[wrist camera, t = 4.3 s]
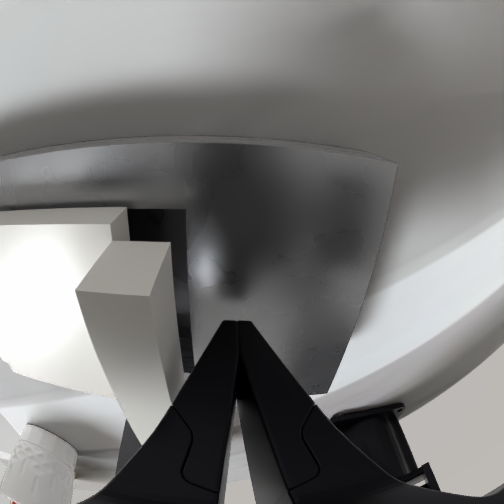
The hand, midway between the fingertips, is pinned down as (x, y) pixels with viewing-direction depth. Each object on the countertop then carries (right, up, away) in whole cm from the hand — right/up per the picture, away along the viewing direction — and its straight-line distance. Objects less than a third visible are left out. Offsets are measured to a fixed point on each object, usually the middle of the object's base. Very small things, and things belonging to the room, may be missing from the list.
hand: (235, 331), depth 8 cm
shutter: (-6, 0, 0) cm, 6 cm away
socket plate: (-5, +2, +3) cm, 6 cm away
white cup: (-21, -18, +12) cm, 31 cm away
